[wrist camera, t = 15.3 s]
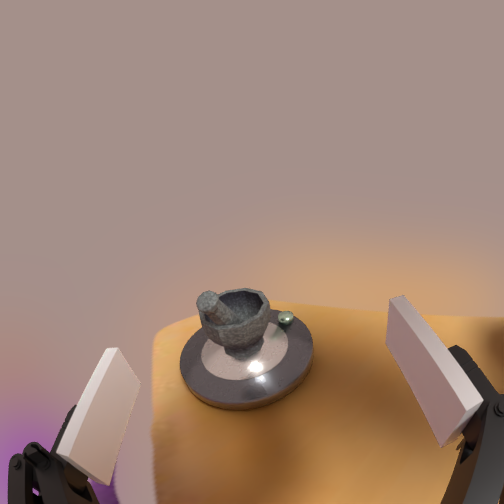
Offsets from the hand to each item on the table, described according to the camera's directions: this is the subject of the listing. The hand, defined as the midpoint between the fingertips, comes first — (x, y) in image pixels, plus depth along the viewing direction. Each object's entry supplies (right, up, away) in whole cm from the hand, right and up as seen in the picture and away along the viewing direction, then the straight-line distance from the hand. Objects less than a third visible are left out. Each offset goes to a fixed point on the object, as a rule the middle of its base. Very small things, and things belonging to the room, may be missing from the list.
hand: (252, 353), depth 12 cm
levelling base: (-1, -13, +28) cm, 31 cm away
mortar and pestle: (-1, -10, +27) cm, 29 cm away
